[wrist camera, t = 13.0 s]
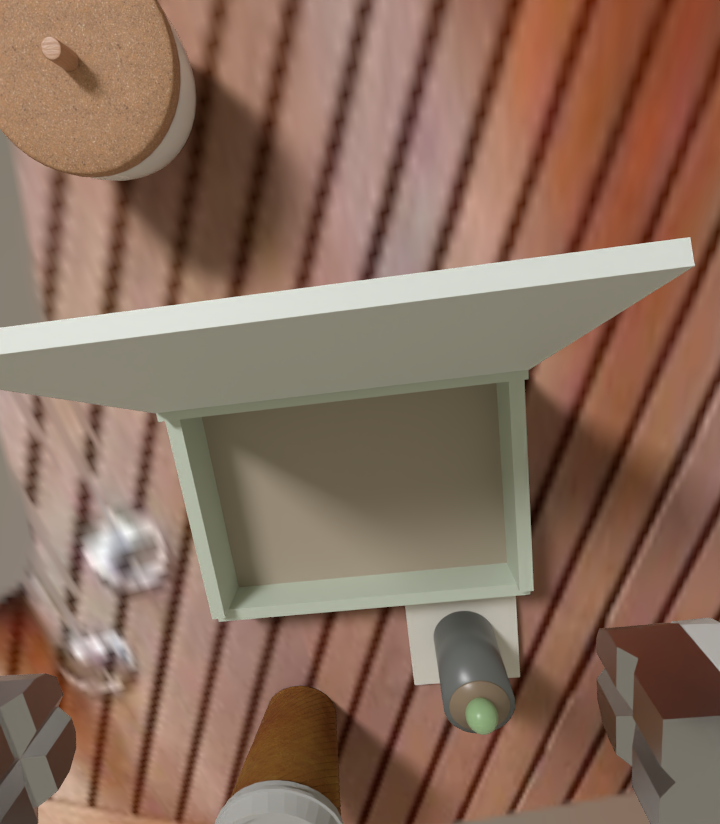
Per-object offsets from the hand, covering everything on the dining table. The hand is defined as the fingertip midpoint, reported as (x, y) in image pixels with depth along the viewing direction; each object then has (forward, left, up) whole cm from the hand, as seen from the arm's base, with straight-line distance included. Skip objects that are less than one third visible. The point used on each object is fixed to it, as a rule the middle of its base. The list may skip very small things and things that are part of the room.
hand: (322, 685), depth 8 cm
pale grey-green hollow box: (+2, +7, -31) cm, 32 cm away
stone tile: (-5, +24, -31) cm, 40 cm away
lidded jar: (+13, -18, -31) cm, 38 cm away
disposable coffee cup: (+10, +32, -31) cm, 46 cm away
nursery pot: (-5, +24, -30) cm, 39 cm away
